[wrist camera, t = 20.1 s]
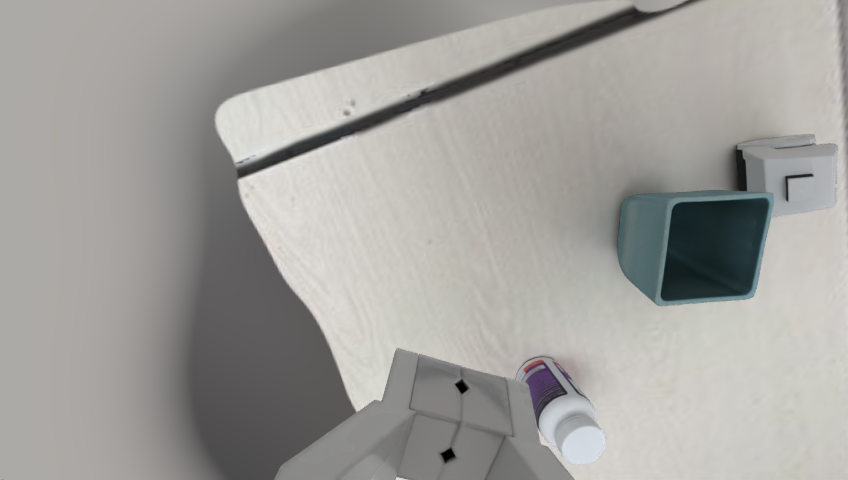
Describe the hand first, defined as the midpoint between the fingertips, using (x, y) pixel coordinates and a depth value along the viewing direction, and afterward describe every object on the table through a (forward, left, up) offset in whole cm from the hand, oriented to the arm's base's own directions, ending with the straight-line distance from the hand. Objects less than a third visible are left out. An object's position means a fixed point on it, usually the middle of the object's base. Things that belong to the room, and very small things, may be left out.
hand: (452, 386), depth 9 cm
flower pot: (+9, +23, -28) cm, 37 cm away
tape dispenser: (+6, +34, -28) cm, 45 cm away
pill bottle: (+23, +10, -28) cm, 38 cm away
